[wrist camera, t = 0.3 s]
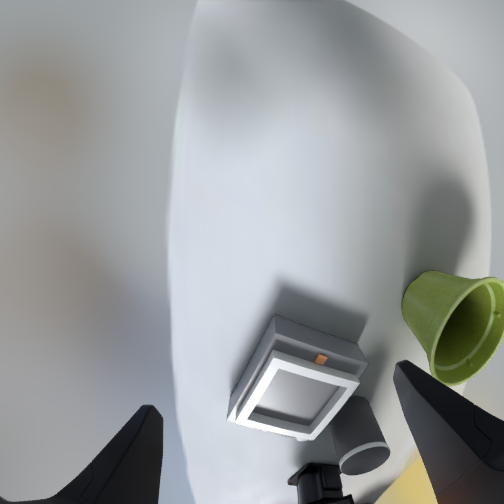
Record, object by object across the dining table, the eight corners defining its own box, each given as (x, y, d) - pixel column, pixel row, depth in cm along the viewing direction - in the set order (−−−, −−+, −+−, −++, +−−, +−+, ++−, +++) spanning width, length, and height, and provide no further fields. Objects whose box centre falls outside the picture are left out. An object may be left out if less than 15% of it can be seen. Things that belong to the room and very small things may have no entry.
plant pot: (466, 257, 22) (521, 280, 14) (444, 338, 24) (486, 378, 16) (398, 248, 22) (455, 274, 14) (376, 341, 24) (413, 393, 16)
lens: (353, 428, 27) (369, 475, 19) (319, 422, 27) (330, 474, 19) (377, 399, 26) (400, 447, 18) (342, 392, 26) (361, 445, 18)
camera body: (305, 419, 26) (309, 448, 22) (229, 398, 26) (225, 428, 21) (357, 344, 24) (373, 371, 20) (273, 314, 24) (276, 340, 19)
